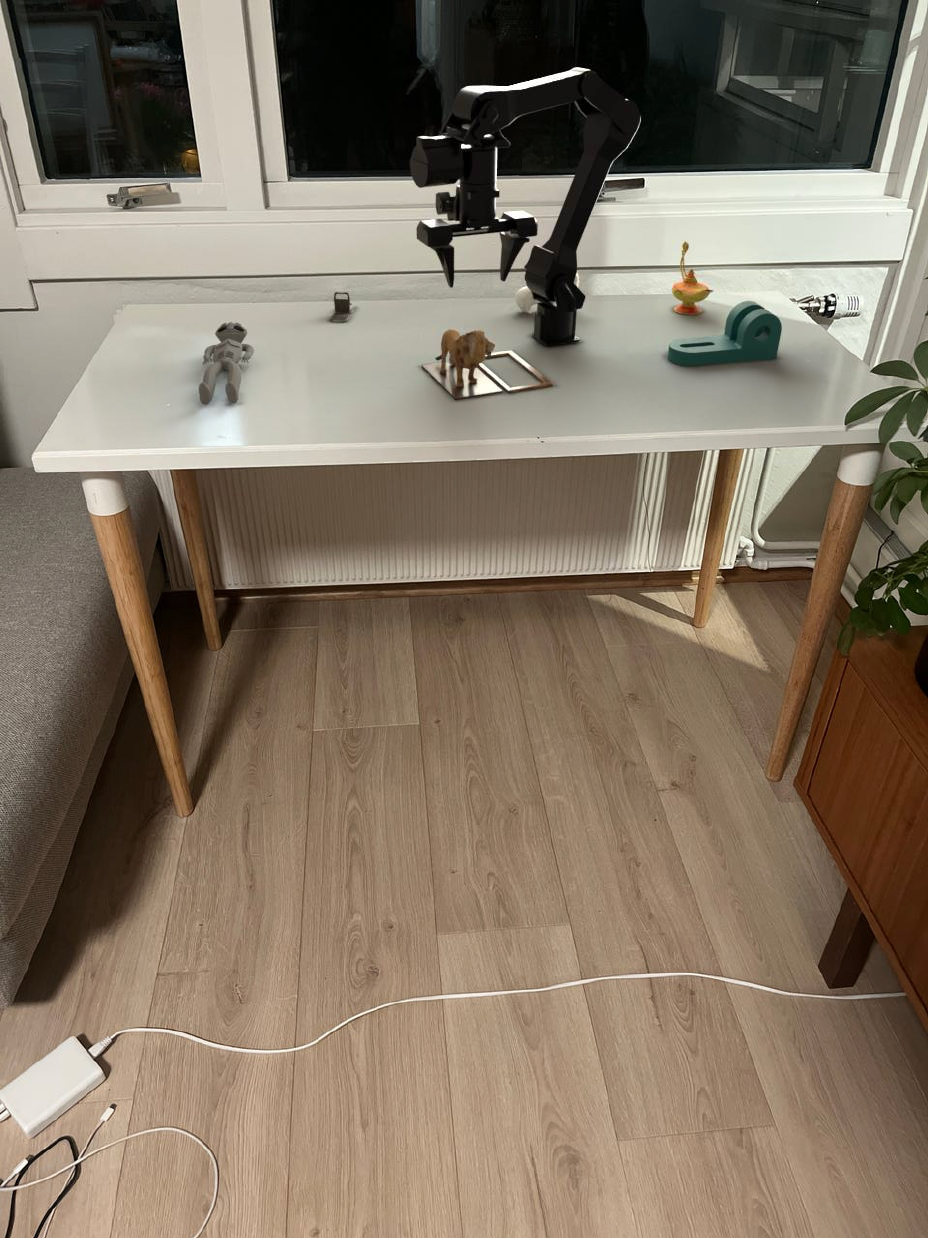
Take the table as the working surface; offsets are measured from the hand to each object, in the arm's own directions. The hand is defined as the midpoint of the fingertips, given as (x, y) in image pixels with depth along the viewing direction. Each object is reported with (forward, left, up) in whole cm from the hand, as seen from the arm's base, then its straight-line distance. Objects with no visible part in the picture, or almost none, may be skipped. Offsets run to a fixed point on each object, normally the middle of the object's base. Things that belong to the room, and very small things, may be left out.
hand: (476, 283), depth 157 cm
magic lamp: (-46, -5, -12) cm, 48 cm away
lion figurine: (+6, +9, -12) cm, 16 cm away
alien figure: (+41, -7, -12) cm, 43 cm away
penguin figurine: (-21, -16, -12) cm, 29 cm away
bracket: (-38, +16, -12) cm, 43 cm away
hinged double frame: (+2, +9, -12) cm, 15 cm away
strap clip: (+15, -29, -12) cm, 35 cm away
